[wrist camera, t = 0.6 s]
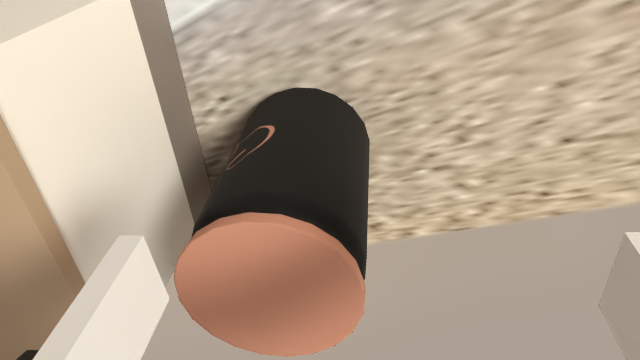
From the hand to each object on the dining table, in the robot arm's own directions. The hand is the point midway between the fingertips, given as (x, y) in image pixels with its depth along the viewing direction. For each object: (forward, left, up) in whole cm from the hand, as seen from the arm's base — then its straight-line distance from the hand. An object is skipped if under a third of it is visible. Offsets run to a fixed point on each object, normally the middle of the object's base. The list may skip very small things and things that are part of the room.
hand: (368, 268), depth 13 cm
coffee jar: (+9, -6, -25) cm, 28 cm away
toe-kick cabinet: (+5, -23, -25) cm, 34 cm away
